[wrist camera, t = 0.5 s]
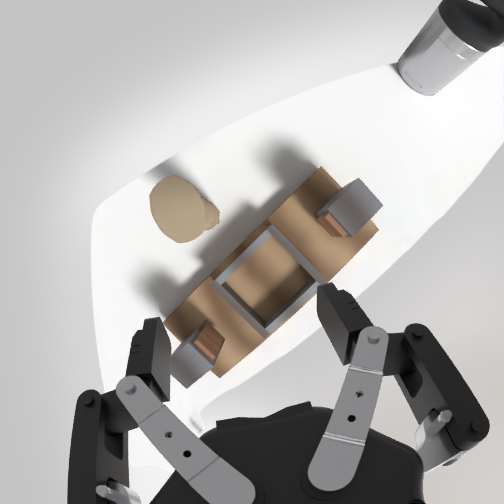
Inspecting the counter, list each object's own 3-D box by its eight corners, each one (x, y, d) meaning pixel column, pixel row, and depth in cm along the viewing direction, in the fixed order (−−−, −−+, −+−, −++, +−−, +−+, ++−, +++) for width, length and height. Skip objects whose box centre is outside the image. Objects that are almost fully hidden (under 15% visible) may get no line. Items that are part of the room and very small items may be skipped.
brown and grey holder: (318, 169, 39) (335, 147, 28) (374, 229, 39) (407, 229, 28) (166, 319, 42) (136, 345, 31) (221, 372, 42) (208, 411, 31)
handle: (208, 245, 40) (174, 252, 25) (184, 208, 40) (140, 196, 25) (236, 226, 40) (216, 223, 25) (212, 189, 40) (180, 166, 25)
